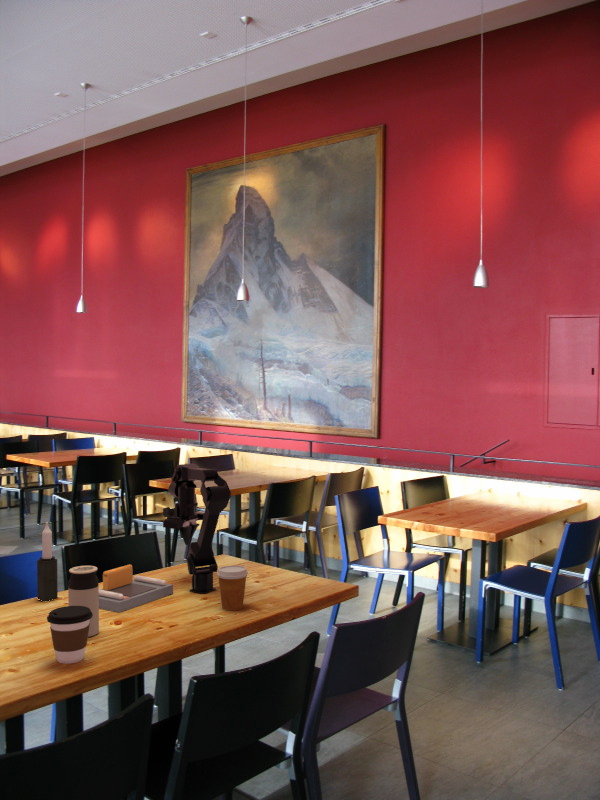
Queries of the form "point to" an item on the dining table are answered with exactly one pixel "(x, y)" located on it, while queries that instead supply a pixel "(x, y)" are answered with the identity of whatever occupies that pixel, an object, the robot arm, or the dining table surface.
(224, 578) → the disposable coffee cup
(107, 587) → the orange rectangular slab
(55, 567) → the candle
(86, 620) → the coffee cup
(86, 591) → the travel mug
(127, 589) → the grey flat rectangular tray
